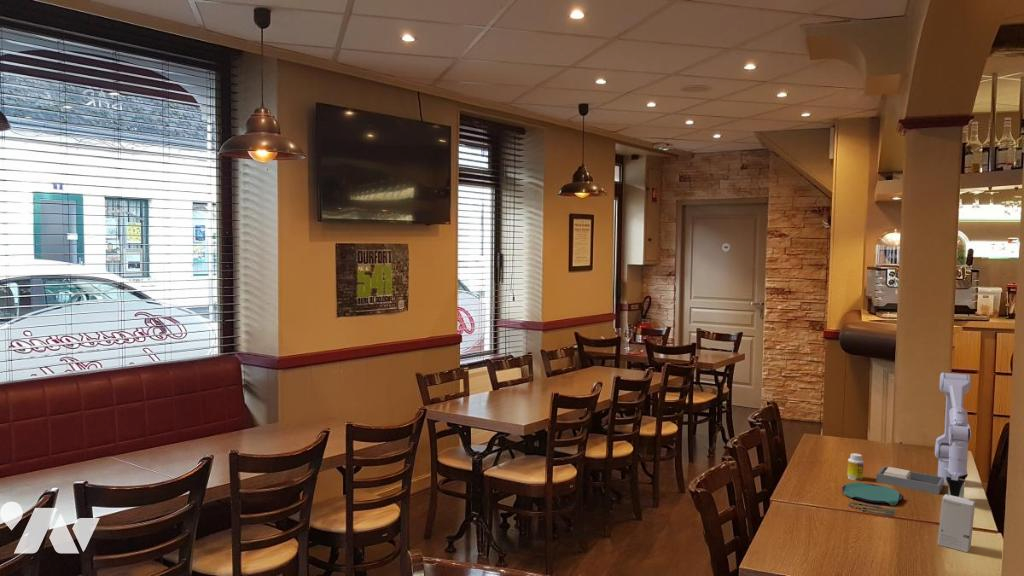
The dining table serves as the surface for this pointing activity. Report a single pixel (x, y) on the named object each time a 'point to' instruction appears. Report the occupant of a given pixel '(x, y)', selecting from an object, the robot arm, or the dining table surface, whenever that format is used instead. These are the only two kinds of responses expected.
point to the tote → (913, 481)
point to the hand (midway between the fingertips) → (955, 495)
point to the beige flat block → (898, 473)
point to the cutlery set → (872, 496)
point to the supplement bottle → (855, 467)
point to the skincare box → (956, 523)
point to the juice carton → (960, 490)
